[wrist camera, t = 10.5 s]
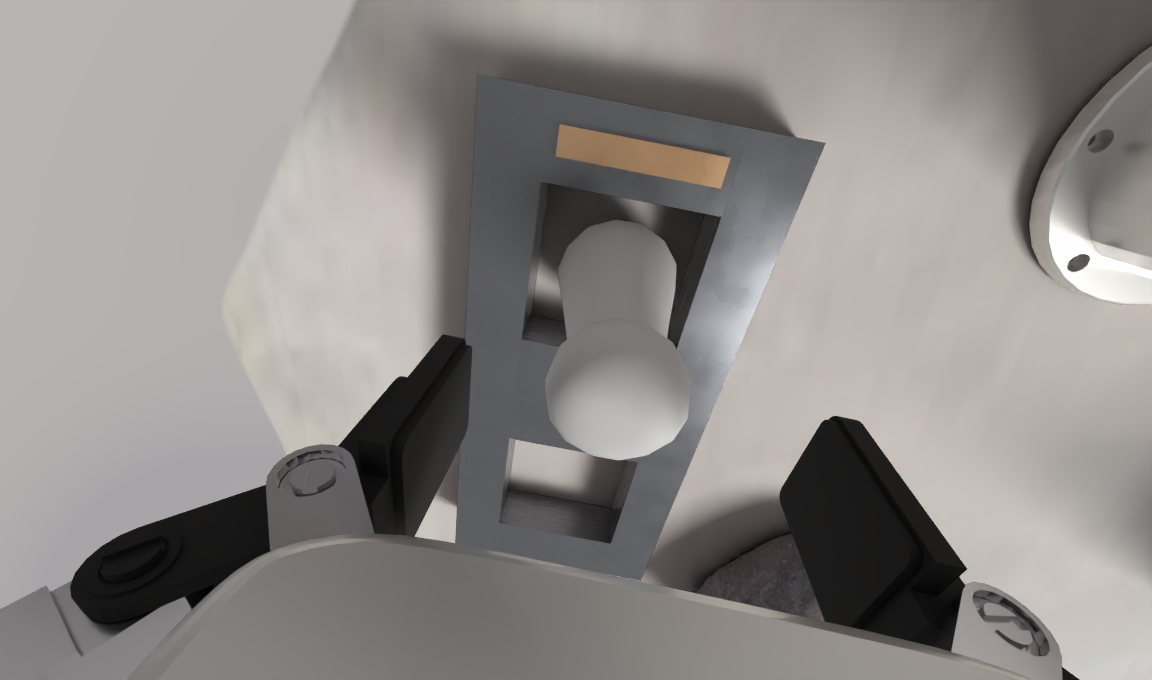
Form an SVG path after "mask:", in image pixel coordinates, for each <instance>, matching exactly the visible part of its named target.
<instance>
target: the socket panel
mask: <svg viewBox="0 0 1152 680" xmlns="http://www.w3.org/2000/svg"><path fill="white" fill-rule="evenodd" d="M824 146H825V143H822V142H817V141H812V140H807V139H802V138H797V137H792V136H787V135H782V134H777V133H772V132H767V131H761V130H756V129H751V128H746V127H741V126H736V125H731V124H726V123H721V122H716V121H711V120H706V119H701V118H696V117H691V116H686V115H681V114H676V113H670V112H665V111H660V110H655V109H650V108H645V107H640V106H635V105H630V104H625V103H620V102H615V101H610V100H605V99H600V98H595V97H590V96H585V95H579V94H574V93H569V92H564V91H559V90H554V89H549V88H544V87H539V86H534V85H529V84H524V83H519V82H514V81H509V80H504V79H499V78H494V77H489V76H483V75H478V74H477V95H476V116H475V137H474V159H473V180H472V201H471V222H470V244H469V265H468V286H467V307H466V328H465V340H466V345H470V346H472V365H471V383H470V402H469V420H468V428H467V431H466V434H465V437H464V439H463V441H462V443H461V445H460V456H459V477H458V498H457V519H456V540H455V544H460V545H465V546H471V547H476V548H481V549H486V550H491V551H497V552H502V553H507V554H512V555H517V556H522V557H526V558H531V559H536V560H541V561H546V562H550V563H555V564H560V565H565V566H569V567H574V568H579V569H584V570H588V571H593V572H598V573H604V574H609V575H614V576H620V577H625V578H630V579H636V580H641V578H642V576H643V573H644V571H645V569H646V566H647V564H648V562H649V559H650V557H651V555H652V552H653V550H654V547H655V545H656V543H657V540H658V538H659V536H660V533H661V531H662V529H663V526H664V524H665V521H666V519H667V517H668V514H669V512H670V510H671V507H672V505H673V503H674V500H675V498H676V495H677V493H678V491H679V488H680V486H681V484H682V481H683V479H684V477H685V474H686V472H687V469H688V467H689V465H690V462H691V460H692V458H693V455H694V453H695V451H696V448H697V446H698V443H699V441H700V439H701V436H702V434H703V432H704V429H705V427H706V425H707V422H708V420H709V417H710V415H711V413H712V410H713V408H714V406H715V403H716V401H717V399H718V396H719V394H720V391H721V389H722V387H723V384H724V382H725V380H726V377H727V375H728V373H729V370H730V368H731V365H732V363H733V361H734V358H735V356H736V354H737V351H738V349H739V347H740V344H741V342H742V339H743V337H744V335H745V332H746V330H747V328H748V325H749V323H750V321H751V318H752V316H753V313H754V311H755V309H756V306H757V304H758V302H759V299H760V297H761V295H762V292H763V290H764V287H765V285H766V283H767V280H768V278H769V276H770V273H771V271H772V269H773V266H774V264H775V261H776V259H777V257H778V254H779V252H780V250H781V247H782V245H783V243H784V240H785V238H786V235H787V233H788V231H789V228H790V226H791V224H792V221H793V219H794V217H795V214H796V212H797V209H798V207H799V205H800V202H801V200H802V198H803V195H804V193H805V191H806V188H807V186H808V183H809V181H810V179H811V176H812V174H813V172H814V169H815V167H816V165H817V162H818V160H819V157H820V155H821V153H822V150H823V148H824ZM549 183H550V184H555V185H561V186H566V187H571V188H576V189H581V190H586V191H591V192H596V193H601V194H607V195H612V196H617V197H622V198H627V199H632V200H637V201H642V202H648V203H653V204H658V205H663V206H668V207H673V208H678V209H683V210H688V211H694V212H699V213H704V214H705V215H704V219H703V222H702V225H701V228H700V231H699V234H698V237H697V241H696V244H695V247H694V250H693V253H692V256H691V259H690V263H689V266H688V269H687V272H686V275H685V278H684V281H683V285H682V288H681V291H680V294H679V297H678V300H677V303H676V307H675V310H674V313H673V316H672V319H671V322H670V325H669V329H668V335H667V339H669V340H670V341H672V342H673V344H674V346H675V347H676V349H677V351H678V353H679V355H680V357H681V358H682V360H683V362H684V364H685V366H686V368H687V370H688V373H689V375H690V378H691V380H690V399H689V412H688V419H687V421H686V422H685V424H684V425H683V427H682V428H681V430H680V431H679V433H678V434H677V436H676V437H675V439H674V440H673V441H672V442H670V443H668V444H666V445H664V446H663V447H661V448H659V449H657V450H656V451H654V452H652V453H650V454H649V455H646V456H642V457H636V458H630V459H624V460H627V461H626V464H625V467H624V470H623V473H622V476H621V479H620V483H619V486H618V489H617V492H616V495H615V498H614V501H613V505H612V508H606V507H601V506H596V505H591V504H585V503H580V502H575V501H569V500H564V499H559V498H553V497H548V496H543V495H537V494H532V493H527V492H521V491H516V490H511V489H508V488H509V481H510V473H511V466H512V458H513V451H514V443H515V439H516V440H521V441H527V442H532V443H537V444H543V445H548V446H553V447H558V448H564V449H569V450H574V451H580V452H584V451H583V450H581V449H579V448H577V447H575V446H574V445H572V444H570V443H568V442H567V441H565V440H564V439H563V437H562V436H561V434H560V433H559V432H558V430H557V429H556V428H555V426H554V425H553V423H552V422H551V421H550V419H549V413H548V406H547V399H546V388H545V380H546V377H547V374H548V372H549V369H550V367H551V365H552V362H553V360H554V358H555V356H556V353H557V351H558V349H559V347H560V345H561V344H562V343H563V342H565V341H566V340H567V335H566V327H565V321H560V320H554V319H549V318H544V317H539V316H534V315H532V308H533V300H534V293H535V285H536V278H537V270H538V263H539V255H540V248H541V240H542V233H543V225H544V218H545V210H546V203H547V195H548V188H549ZM585 453H586V452H585Z"/></svg>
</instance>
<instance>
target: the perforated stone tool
mask: <svg viewBox="0 0 1152 680" xmlns="http://www.w3.org/2000/svg"><path fill="white" fill-rule="evenodd" d="M692 593H696V594H701V595H706V596H710V597H715V598H719V599H724V600H729V601H733V602H738V603H743V604H747V605H752V606H756V607H761V608H765V609H770V610H775V611H779V612H784V613H788V614H793V615H797V616H802V617H806V618H811V619H815V620H820V621H824V618H823V615H822V613H821V610H820V607H819V605H818V602H817V599H816V597H815V594H814V591H813V589H812V586H811V583H810V581H809V578H808V575H807V573H806V570H805V567H804V565H803V562H802V559H801V557H800V554H799V551H798V549H797V546H796V543H795V541H794V538H793V535H792V534H789V535H783V536H780V537H777V538H774V539H772V540H770V541H767V542H766V543H764V544H762V545H760V546H759V547H757V548H756V549H754V550H752V551H751V552H748V553H745V554H743V555H741V556H740V557H738V558H737V559H735V560H733V561H732V562H730V563H728V564H726V565H725V566H723V567H721V568H720V569H718V570H717V571H716V572H714V574H713V575H712V576H710V577H708V578H707V579H706V580H705V582H704V584H703V586H702V587H699V588H698V589H697V590H696V591H693V592H692ZM824 622H825V621H824Z"/></svg>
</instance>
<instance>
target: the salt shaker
mask: <svg viewBox="0 0 1152 680" xmlns="http://www.w3.org/2000/svg"><path fill="white" fill-rule="evenodd" d="M676 266H677V264H676V262H675V260H674V258H673V256H672V254H671V252H670V251H669V249H668V247H667V245H666V243H665V241H664V240H663V239H661V238H660V237H659V236H657V235H656V234H655V233H653V232H652V231H651V230H650V229H648V228H647V227H646V226H644V225H643V224H642V223H635V222H629V221H622V220H611V221H607V222H603V223H600V224H596V225H592V226H589V227H587V228H586V229H585V230H584V231H583V232H582V233H581V234H580V235H579V236H578V237H577V238H576V239H575V240H574V241H573V242H571V243H570V244H569V245H568V246H567V249H566V251H565V254H564V256H563V258H562V261H561V263H560V266H559V268H558V276H559V285H560V293H561V299H562V305H563V312H564V320H565V327H566V335H567V340H566V341H565V342H563V343H562V344H561V345H560V347H559V349H558V351H557V353H556V356H555V358H554V360H553V362H552V365H551V367H550V369H549V372H548V374H547V377H546V380H545V388H546V399H547V406H548V413H549V419H550V421H551V422H552V423H553V425H554V426H555V428H556V429H557V430H558V432H559V433H560V434H561V436H562V437H563V439H564V440H565V441H567V442H568V443H570V444H572V445H574V446H575V447H577V448H579V449H581V450H583V451H584V452H586V453H588V454H590V455H592V456H597V457H602V458H608V459H613V460H624V459H630V458H636V457H642V456H646V455H649V454H650V453H652V452H654V451H656V450H657V449H659V448H661V447H663V446H664V445H666V444H668V443H670V442H672V441H673V440H674V439H675V437H676V436H677V434H678V433H679V431H680V430H681V428H682V427H683V425H684V424H685V422H686V421H687V419H688V412H689V399H690V380H691V378H690V375H689V373H688V370H687V368H686V366H685V364H684V362H683V360H682V358H681V357H680V355H679V353H678V351H677V349H676V347H675V346H674V344H673V342H672V341H670V340H669V339H667V335H668V327H669V321H670V316H671V310H672V305H673V300H674V294H675V285H676Z"/></svg>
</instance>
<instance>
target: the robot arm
mask: <svg viewBox="0 0 1152 680" xmlns="http://www.w3.org/2000/svg"><path fill="white" fill-rule="evenodd" d="M1029 227H1030V235H1031V243H1032V248H1033V250H1034V253H1035V255H1036V257H1037V259H1038V261H1039V264H1040V265H1041V267H1042V268H1043V269H1044V270H1045V271H1046V272H1047V273H1048V274H1049V275H1050V277H1051V278H1052V279H1053V280H1055V281H1057V282H1058V283H1060V284H1061V285H1063V286H1065V287H1066V288H1068V289H1070V290H1072V291H1075V292H1077V293H1080V294H1083V295H1085V296H1088V297H1090V298H1093V299H1095V300H1099V301H1104V302H1110V303H1115V304H1120V305H1150V304H1152V46H1151V47H1149V48H1148V49H1146V50H1145V51H1143V52H1142V53H1141V54H1140V55H1138V56H1137V57H1136V58H1135V59H1134V60H1133V61H1131V62H1130V63H1129V64H1128V65H1127V66H1126V67H1125V68H1123V69H1122V70H1121V71H1120V72H1119V73H1118V74H1116V75H1115V76H1114V77H1113V78H1112V79H1111V80H1110V81H1108V82H1107V83H1106V84H1105V85H1104V87H1103V88H1102V89H1101V90H1100V91H1099V92H1098V93H1097V94H1096V95H1095V96H1094V97H1093V98H1092V100H1091V101H1090V102H1089V103H1088V104H1087V105H1086V106H1085V107H1084V108H1083V109H1082V110H1081V111H1080V113H1079V114H1078V115H1077V117H1076V118H1075V119H1074V121H1073V122H1072V124H1071V125H1070V126H1069V128H1068V129H1067V130H1066V132H1065V133H1064V135H1063V136H1062V137H1061V139H1060V140H1059V142H1058V143H1057V145H1056V146H1055V148H1054V150H1053V152H1052V154H1051V156H1050V158H1049V160H1048V162H1047V163H1046V165H1045V167H1044V169H1043V171H1042V173H1041V176H1040V179H1039V182H1038V185H1037V188H1036V191H1035V194H1034V197H1033V200H1032V207H1031V215H1030V223H1029ZM471 365H472V346H470V345H466V340H465V339H463V338H458V337H453V336H449V335H442V336H441V337H440V338H439V340H438V341H437V342H436V343H435V345H434V346H433V347H432V348H431V349H430V351H429V352H428V353H427V354H426V356H425V357H424V358H423V359H422V360H421V362H420V363H419V364H418V365H417V367H416V368H415V369H414V370H413V371H412V373H411V374H410V375H409V376H408V378H407V377H403V376H401V377H398V378H397V379H396V380H395V381H394V382H393V383H392V384H391V385H390V386H389V387H388V389H387V390H386V391H385V392H384V393H383V394H382V396H381V397H380V398H379V399H378V400H377V401H376V403H375V404H374V405H373V406H372V407H371V408H370V410H369V411H368V412H367V413H366V414H365V415H364V417H363V418H362V419H361V420H360V421H359V422H358V424H357V425H356V426H355V427H354V428H353V429H352V431H351V432H350V433H349V434H348V435H347V436H346V438H345V439H344V440H343V441H342V442H341V443H340V445H339V446H335V445H322V444H321V445H314V446H308V447H305V448H302V449H299V450H297V451H294V452H292V453H291V454H289V455H287V456H285V457H284V458H282V459H281V460H280V461H279V462H278V463H277V464H276V465H275V466H273V468H272V470H271V471H270V473H269V474H268V476H267V481H266V485H265V486H261V487H258V488H255V489H252V490H249V491H247V492H243V493H240V494H237V495H234V496H231V497H228V498H225V499H222V500H219V501H216V502H213V503H210V504H208V505H204V506H202V507H199V508H196V509H193V510H190V511H187V512H184V513H181V514H178V515H175V516H172V517H169V518H166V519H163V520H160V521H157V522H154V523H151V524H148V525H145V526H142V527H139V528H136V529H134V530H132V531H129V532H127V533H124V534H122V535H120V536H118V537H116V538H115V539H113V540H112V541H110V542H108V543H106V544H105V545H103V546H102V547H100V548H99V549H98V550H97V551H95V552H94V553H93V554H92V555H91V556H90V557H88V558H87V559H86V560H85V562H84V563H83V564H82V565H81V566H80V568H79V569H78V570H77V572H76V573H75V575H74V577H73V580H72V581H70V582H68V583H66V584H64V585H63V586H61V587H59V588H57V589H55V590H53V591H50V590H49V588H48V587H47V586H45V587H42V588H40V589H39V590H37V591H35V592H33V593H31V594H29V595H27V596H25V597H23V598H21V599H19V600H17V601H15V602H14V603H11V604H10V605H8V606H6V607H4V608H2V609H0V680H125V679H126V680H1079V679H1078V678H1076V677H1075V676H1074V675H1072V674H1071V673H1070V672H1068V671H1067V670H1065V669H1064V668H1063V667H1062V657H1061V653H1060V649H1059V645H1058V644H1057V642H1056V640H1055V639H1054V637H1053V635H1052V634H1051V632H1050V631H1049V630H1048V629H1047V628H1046V626H1045V625H1044V624H1043V623H1042V622H1041V621H1040V619H1039V618H1037V617H1036V616H1035V615H1034V614H1033V613H1032V612H1031V611H1030V610H1029V609H1028V608H1026V607H1025V606H1024V605H1023V604H1021V603H1020V602H1018V601H1017V600H1016V599H1014V598H1013V597H1012V596H1010V595H1008V594H1006V593H1004V592H1003V591H1001V590H999V589H997V588H995V587H992V586H990V585H987V584H984V583H977V582H972V583H969V584H966V585H964V583H963V582H962V580H961V579H960V577H959V576H960V575H961V574H962V573H963V572H964V571H966V570H967V568H966V567H965V565H964V564H963V563H962V561H961V560H960V558H959V557H958V556H957V554H956V553H955V552H954V550H953V549H952V547H951V546H950V545H949V543H948V542H947V540H946V539H945V538H944V536H943V535H942V534H941V532H940V531H939V529H938V528H937V527H936V525H935V524H934V522H933V521H932V520H931V518H930V517H929V516H928V514H927V513H926V511H925V510H924V509H923V507H922V506H921V504H920V503H919V502H918V500H917V499H916V498H915V496H914V495H913V493H912V492H911V491H910V489H909V488H908V486H907V485H906V484H905V482H904V481H903V480H902V478H901V477H900V475H899V474H898V473H897V471H896V470H895V468H894V467H893V466H892V464H891V463H890V462H889V460H888V459H887V457H886V456H885V455H884V453H883V452H882V450H881V449H880V448H879V446H878V445H877V444H876V442H875V441H874V439H873V438H872V437H871V435H870V434H869V432H868V431H867V430H866V428H865V427H864V426H863V424H862V423H861V422H860V421H857V420H853V419H848V418H843V417H839V416H833V417H831V418H830V419H829V420H824V421H823V422H822V423H821V424H820V426H819V428H818V429H817V431H816V433H815V434H814V436H813V437H812V439H811V441H810V442H809V444H808V446H807V447H806V449H805V451H804V452H803V454H802V456H801V457H800V459H799V460H798V462H797V464H796V465H795V467H794V469H793V470H792V472H791V474H790V475H789V477H788V478H787V480H786V482H785V483H784V485H783V487H782V489H781V491H780V503H781V506H782V508H783V511H784V514H785V516H786V519H787V522H788V525H789V527H790V530H791V533H792V535H793V538H794V541H795V543H796V546H797V549H798V551H799V554H800V557H801V559H802V562H803V565H804V567H805V570H806V573H807V575H808V578H809V581H810V583H811V586H812V589H813V591H814V594H815V597H816V599H817V602H818V605H819V607H820V610H821V613H822V615H823V618H824V621H825V622H824V621H820V620H815V619H811V618H806V617H802V616H797V615H793V614H788V613H784V612H779V611H775V610H770V609H765V608H761V607H756V606H752V605H747V604H743V603H738V602H733V601H729V600H724V599H719V598H715V597H710V596H706V595H701V594H696V593H692V592H687V591H682V590H678V589H673V588H668V587H664V586H659V585H654V584H650V583H645V582H640V581H636V580H631V579H626V578H622V577H617V576H612V575H608V574H603V573H598V572H593V571H588V570H584V569H579V568H574V567H569V566H565V565H560V564H555V563H550V562H546V561H541V560H536V559H531V558H526V557H522V556H517V555H512V554H507V553H502V552H497V551H491V550H486V549H481V548H476V547H471V546H465V545H460V544H455V543H450V542H445V541H439V540H432V539H425V538H418V537H414V536H415V534H416V532H417V530H418V528H419V526H420V524H421V522H422V520H423V518H424V516H425V514H426V512H427V510H428V508H429V506H430V504H431V502H432V500H433V498H434V496H435V494H436V492H437V490H438V488H439V486H440V484H441V482H442V480H443V478H444V476H445V474H446V472H447V470H448V468H449V467H450V465H451V463H452V461H453V459H454V457H455V455H456V453H457V451H458V449H459V447H460V445H461V443H462V441H463V439H464V437H465V434H466V431H467V428H468V420H469V402H470V383H471Z"/></svg>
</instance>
